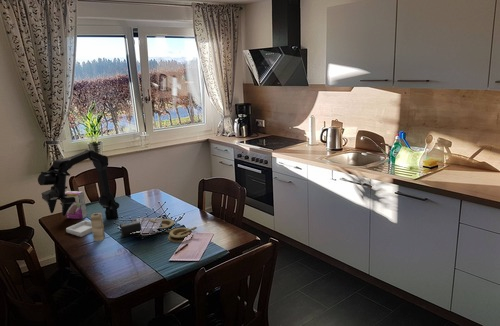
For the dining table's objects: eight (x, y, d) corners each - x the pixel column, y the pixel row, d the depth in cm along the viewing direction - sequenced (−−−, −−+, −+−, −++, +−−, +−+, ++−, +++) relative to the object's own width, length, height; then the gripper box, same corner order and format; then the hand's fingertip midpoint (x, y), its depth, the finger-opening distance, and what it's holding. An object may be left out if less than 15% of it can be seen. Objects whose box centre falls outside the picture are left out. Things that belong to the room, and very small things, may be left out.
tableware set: (142, 231, 210) (141, 221, 209) (172, 220, 224) (171, 211, 222) (172, 248, 190) (171, 237, 188) (203, 235, 203) (202, 225, 202)
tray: (86, 223, 221) (85, 220, 220) (100, 228, 215) (99, 224, 214) (66, 232, 210) (65, 228, 210) (81, 236, 204) (80, 232, 204)
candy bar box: (66, 218, 229) (61, 193, 225) (71, 215, 234) (67, 190, 230) (82, 219, 227) (78, 193, 223) (87, 216, 232) (83, 191, 228)
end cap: (123, 239, 200) (121, 227, 198) (120, 234, 206) (118, 223, 204) (142, 234, 205) (140, 223, 203) (138, 230, 211) (137, 218, 209)
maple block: (96, 237, 203) (92, 212, 199) (105, 236, 204) (101, 212, 200) (94, 241, 199) (90, 216, 195) (102, 240, 199) (99, 215, 196)
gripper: (33, 183, 192) (31, 213, 193) (57, 187, 184) (55, 219, 184) (53, 182, 202) (51, 211, 203) (77, 186, 194) (75, 216, 194)
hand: (57, 214), depth 196 cm, fingers open, 9 cm apart
